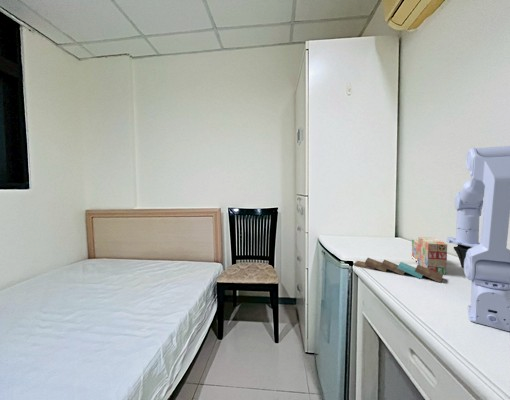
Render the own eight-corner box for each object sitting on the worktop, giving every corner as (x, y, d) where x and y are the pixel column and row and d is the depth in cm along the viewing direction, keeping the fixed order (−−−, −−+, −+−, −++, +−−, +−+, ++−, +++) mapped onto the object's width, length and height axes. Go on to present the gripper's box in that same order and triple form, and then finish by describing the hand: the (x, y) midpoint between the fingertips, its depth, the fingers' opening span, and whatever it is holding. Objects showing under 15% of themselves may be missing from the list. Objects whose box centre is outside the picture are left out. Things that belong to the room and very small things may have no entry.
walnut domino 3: (406, 268, 94) (384, 259, 99) (404, 271, 90) (382, 262, 95) (404, 271, 94) (383, 262, 99) (403, 275, 90) (381, 266, 95)
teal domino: (424, 271, 90) (401, 261, 95) (422, 275, 86) (398, 264, 91) (422, 275, 91) (399, 265, 96) (421, 278, 87) (397, 268, 92)
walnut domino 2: (388, 265, 98) (368, 257, 102) (386, 268, 94) (365, 260, 98) (387, 268, 98) (367, 260, 103) (385, 272, 94) (364, 264, 98)
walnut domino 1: (376, 264, 101) (357, 260, 106) (374, 267, 97) (354, 263, 102) (376, 267, 101) (357, 264, 106) (374, 271, 97) (354, 267, 102)
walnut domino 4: (442, 274, 87) (417, 264, 92) (442, 278, 83) (416, 267, 88) (441, 278, 87) (416, 268, 92) (440, 282, 83) (414, 271, 88)
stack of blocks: (411, 258, 112) (411, 232, 112) (426, 259, 110) (427, 233, 110) (427, 273, 92) (428, 242, 92) (446, 275, 90) (447, 243, 90)
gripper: (439, 225, 87) (438, 261, 88) (475, 232, 72) (473, 276, 73) (458, 225, 87) (457, 261, 88) (498, 232, 72) (496, 275, 73)
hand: (466, 268), depth 80 cm, fingers closed
